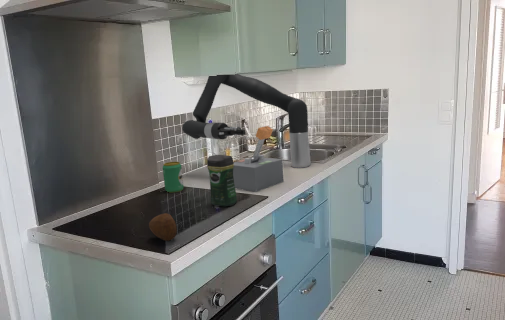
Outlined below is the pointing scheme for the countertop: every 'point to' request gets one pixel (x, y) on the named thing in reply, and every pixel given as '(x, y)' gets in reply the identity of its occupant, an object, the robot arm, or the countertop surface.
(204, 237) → the countertop surface
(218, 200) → the coffee jar
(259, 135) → the mallet
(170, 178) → the beverage can
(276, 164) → the switch box
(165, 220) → the potato
